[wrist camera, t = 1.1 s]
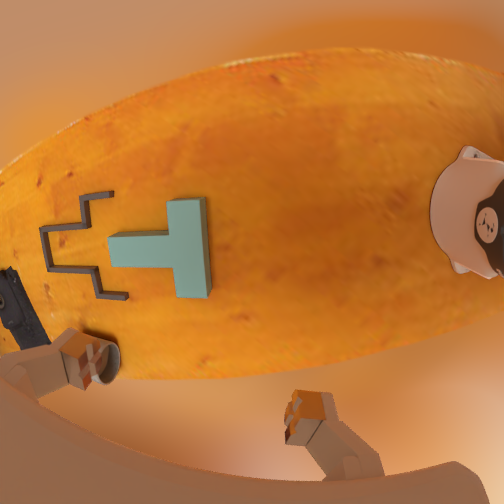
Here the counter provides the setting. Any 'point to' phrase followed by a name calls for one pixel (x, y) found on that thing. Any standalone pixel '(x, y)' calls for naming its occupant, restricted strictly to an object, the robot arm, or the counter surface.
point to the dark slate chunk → (19, 312)
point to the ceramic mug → (107, 362)
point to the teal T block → (171, 247)
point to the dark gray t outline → (79, 269)
